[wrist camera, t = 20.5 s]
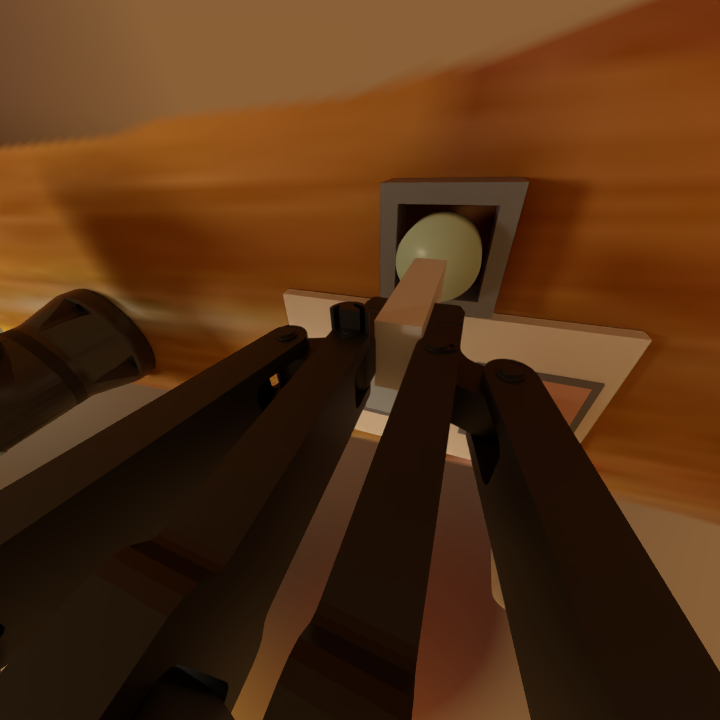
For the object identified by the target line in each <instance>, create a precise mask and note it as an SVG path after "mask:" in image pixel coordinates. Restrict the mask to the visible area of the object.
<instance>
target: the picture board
mask: <svg viewBox="0 0 720 720" xmlns="http://www.w3.org/2000/svg"><path fill="white" fill-rule="evenodd" d="M283 297H284V302H285V307H286V312H287V316H288V321H289V325H296V326H301V327H303V328H305V329H306V331H307V334H308V338H324V337H326V336H327V335H328V334H329V333H330V332H331V330H332V326H331V317H330V307H331V306H333V305H334V304H337V303H340V302H347V301H354V302H360V303H363V304H365V303H366V302H367V301H368V300H370V299H371V298H362V297H354V296H346V295H337V294H329V293H321V292H312V291H304V290H296V289H288V290H287V291H286V292H284V293H283ZM651 341H652V340H651V338H650V337H649V336H648V335H647V334H646V333H645V331H637V330H629V329H621V328H612V327H604V326H596V325H587V324H579V323H571V322H562V321H554V320H546V319H537V318H529V317H521V316H512V315H504V314H496V313H493V315H492V319H486V318H478V317H470V316H465V317H464V324H463V331H462V338H461V345H460V348H461V351H462V353H463V354H464V355H465V356H466V357H467V358H468V359H470V360H471V361H473V362H476V363H478V364H481V365H483V366H485V365H486V364H487V363H488V362H489V361H491V360H494V359H503V358H504V359H511V360H516V361H519V362H521V363H524V364H526V365H527V366H529V367H531V368H532V369H533V370H534V371H535V372H536V373H537V374H538V376H539V377H540V379H541V381H542V382H543V384H544V385H545V387H546V389H547V390H548V392H549V394H550V395H551V397H552V399H553V400H554V402H555V403H556V405H557V407H558V408H559V410H560V412H561V413H562V415H563V417H564V418H565V420H566V421H567V423H568V425H569V426H570V428H571V430H572V431H573V433H574V435H575V436H576V438H577V439H578V441H579V443H580V444H581V442H582V441H583V439H584V438H585V436H586V435H587V434H588V432H589V431H590V429H591V428H592V426H593V425H594V424H595V422H596V421H597V419H598V418H599V416H600V415H601V413H602V412H603V411H604V409H605V408H606V406H607V405H608V403H609V402H610V400H611V399H612V398H613V396H614V395H615V393H616V392H617V390H618V389H619V388H620V386H621V385H622V383H623V382H624V380H625V379H626V377H627V376H628V375H629V373H630V372H631V370H632V369H633V367H634V366H635V364H636V363H637V362H638V360H639V359H640V357H641V356H642V354H643V353H644V351H645V350H646V349H647V347H648V346H649V344H650V343H651ZM397 393H398V390H393V389H389V388H384V387H379V386H375V375H374V377H373V379H372V381H371V392H370V396H369V398H368V400H367V402H366V404H365V407H364V409H363V411H362V413H361V415H360V417H359V419H358V421H357V424H356V426H355V428H354V429H356V430H360V431H364V432H368V433H371V434H375V435H379V436H382V434H383V431H384V428H385V425H386V423H387V420H388V417H389V415H390V412H391V409H392V407H393V404H394V401H395V399H396V396H397ZM446 454H450V455H454V456H458V457H461V458H465V459H469V460H471V457H470V452H469V448H468V444H467V439H466V431H465V430H463V429H461V428H459V427H457V426H455V425H453V424H451V423H450V430H449V437H448V444H447V451H446Z"/></svg>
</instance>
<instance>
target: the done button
mask: <svg viewBox="0 0 720 720" xmlns="http://www.w3.org/2000/svg"><path fill="white" fill-rule="evenodd" d="M415 258H425V259H439V260H447V263H446V270H445V277H444V283H443V290H442V297H441V302H444V301H448V300H451V299H454V298H456V297H458V296H460V295H461V294H463V293H464V292H465V291H467V290H468V289H469V288H470V287H471V285H472V284H473V283H474V281H475V280H476V278H477V276H478V274H479V271H480V267H481V261H482V240H481V237H480V234H479V232H478V230H477V228H476V226H475V225H474V224H473V223H472V222H471V221H470V220H469V219H468V218H466V217H465V216H463V215H461V214H459V213H456V212H451V211H440V212H435V213H432V214H429V215H427V216H425V217H423V218H422V219H420V220H419V221H418V222H417V223H416V224H415V225H414V226H413V227H412V228H411V229H410V230H409V231H408V232H407V234H406V235H405V236H404V237H403V239H402V241H401V243H400V244H399V247H398V250H397V254H396V270H397V274H398V277H399V279H400V281H401V279H402V277H403V276H404V274H405V273H406V271H407V270H408V268H409V267H410V265H411V264H412V262H413V261H414V259H415Z"/></svg>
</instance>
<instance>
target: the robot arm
mask: <svg viewBox="0 0 720 720" xmlns="http://www.w3.org/2000/svg"><path fill="white" fill-rule="evenodd" d="M446 263H447V260H439V259H425V258H415V259H414V261H413V262H412V264H411V265H410V267H409V268H408V270H407V271H406V273H405V274H404V276H403V277H402V279H401V281H400V282H399V284H398V285H397V287H396V288H395V290H394V291H393V293H392V294H391V296H390V297H389V298H383V297H374V298H372V299H370V300H368V301H367V302H366V303H365V304H363V303H360V302H354V301H347V302H340V303H337V304H334V305H333V306H331V307H330V317H331V326H332V330H331V332H330V333H329V334H328V335H327V336H326V337H324V338H308V334H307V331H306V329H305V328H303V327H301V326H296V325H286V326H283V327H279V328H277V329H275V330H273V331H271V332H269V333H268V334H266V335H264V336H263V337H261V338H259V339H257V340H256V341H254V342H252V343H251V344H249V345H247V346H245V347H244V348H242V349H240V350H239V351H237V352H235V353H234V354H232V355H230V356H228V357H227V358H225V359H223V360H222V361H220V362H218V363H216V364H215V365H213V366H211V367H210V368H208V369H206V370H205V371H203V372H201V373H199V374H198V375H196V376H194V377H193V378H191V379H189V380H187V381H186V382H184V383H182V384H181V385H179V386H177V387H176V388H174V389H172V390H170V391H169V392H167V393H166V394H164V395H162V396H160V397H158V398H157V399H155V400H154V401H152V402H150V403H148V404H147V405H145V406H143V407H141V408H140V409H138V410H136V411H135V412H133V413H131V414H130V415H128V416H126V417H124V418H123V419H121V420H119V421H117V422H116V423H114V424H112V425H111V426H109V427H107V428H106V429H104V430H102V431H100V432H99V433H97V434H95V435H94V436H92V437H90V438H89V439H87V440H85V441H83V442H82V443H80V444H78V445H77V446H75V447H73V448H72V449H70V450H68V451H66V452H65V453H63V454H61V455H59V456H58V457H56V458H54V459H53V460H51V461H49V462H48V463H46V464H44V465H42V466H41V467H39V468H37V469H36V470H34V471H32V472H31V473H29V474H27V475H25V476H24V477H22V478H20V479H19V480H17V481H15V482H13V483H12V484H10V485H8V486H7V487H5V488H3V489H2V490H0V669H2V668H3V667H5V666H6V665H7V666H6V667H5V668H4V669H3V670H2V671H1V670H0V720H235V719H234V718H233V716H232V715H231V712H232V709H233V707H234V705H235V703H236V701H237V698H238V696H239V694H240V692H241V689H242V687H243V685H244V683H245V681H246V679H247V676H248V674H249V672H250V670H251V668H252V665H253V663H254V660H255V658H256V655H257V653H258V650H259V647H260V643H261V640H262V635H263V628H264V622H265V619H266V616H267V613H268V611H269V608H270V606H271V604H272V602H273V599H274V598H275V595H276V593H277V591H278V589H279V587H280V585H281V583H282V581H283V578H284V576H285V574H286V572H287V570H288V568H289V565H290V563H291V561H292V559H293V557H294V555H295V553H296V551H297V549H298V547H299V544H300V542H301V540H302V538H303V536H304V534H305V532H306V530H307V528H308V525H309V523H310V521H311V519H312V517H313V515H314V513H315V510H316V508H317V506H318V504H319V502H320V500H321V498H322V495H323V494H324V491H325V489H326V487H327V485H328V483H329V481H330V479H331V477H332V474H333V472H334V470H335V468H336V466H337V464H338V462H339V460H340V458H341V455H342V453H343V451H344V449H345V447H346V445H347V443H348V441H349V438H350V436H351V434H352V432H353V430H354V428H355V426H356V424H357V421H358V419H359V417H360V415H361V413H362V411H363V409H364V407H365V404H366V402H367V400H368V398H369V396H370V392H371V381H372V379H373V377H374V375H375V386H379V387H384V388H389V389H393V390H398V393H397V396H396V399H395V401H394V404H393V407H392V409H391V412H390V415H389V417H388V420H387V423H386V425H385V428H384V431H383V434H382V436H381V439H380V442H379V444H378V447H377V450H376V453H375V455H374V458H373V460H372V463H371V466H370V469H369V471H368V474H367V476H366V480H365V482H364V485H363V487H362V490H361V493H360V495H359V498H358V501H357V503H356V506H355V509H354V511H353V514H352V517H351V520H350V522H349V525H348V527H347V530H346V533H345V536H344V538H343V541H342V544H341V547H340V549H339V552H338V554H337V557H336V560H335V562H334V565H333V568H332V571H331V573H330V576H329V578H328V581H327V584H326V586H325V589H324V592H323V595H322V597H321V600H320V602H319V605H318V607H317V610H316V612H315V614H314V616H313V618H312V620H311V622H310V623H309V624H308V626H307V627H306V628H305V630H304V631H303V632H302V634H301V635H300V636H299V638H298V640H297V642H296V643H295V645H294V648H293V649H292V651H291V653H290V655H289V657H288V659H287V662H286V664H285V666H284V668H283V671H282V673H281V676H280V678H279V680H278V682H277V685H276V688H275V690H274V692H273V695H272V698H271V700H270V703H269V705H268V708H267V710H266V713H265V716H264V718H263V720H411V719H412V709H413V700H414V685H415V684H414V683H415V671H416V662H417V655H418V647H419V640H420V633H421V626H422V619H423V612H424V604H425V598H426V591H427V584H428V577H429V570H430V563H431V556H432V549H433V541H434V535H435V528H436V521H437V514H438V506H439V500H440V493H441V486H442V479H443V472H444V464H445V458H446V451H447V444H448V437H449V430H450V423H451V424H453V425H455V426H457V427H459V428H461V429H463V430H465V431H466V439H467V444H468V448H469V452H470V457H471V461H472V465H473V470H474V474H475V478H476V483H477V487H478V492H479V496H480V500H481V505H482V509H483V513H484V518H485V522H486V526H487V531H488V535H489V539H490V543H491V548H492V552H493V557H494V561H495V565H496V570H497V574H498V578H499V583H500V587H501V591H502V596H503V600H504V604H505V609H506V613H507V617H508V621H509V626H510V631H511V635H512V639H513V644H514V648H515V652H516V657H517V661H518V665H519V670H520V674H521V678H522V683H523V686H524V691H525V695H526V700H527V704H528V709H529V713H530V717H531V720H720V672H719V670H718V668H717V667H716V665H715V664H714V662H713V660H712V659H711V657H710V655H709V654H708V652H707V650H706V649H705V647H704V645H703V644H702V642H701V640H700V639H699V637H698V636H697V634H696V632H695V631H694V629H693V628H692V626H691V624H690V623H689V621H688V619H687V618H686V616H685V614H684V613H683V611H682V610H681V608H680V606H679V605H678V603H677V601H676V600H675V598H674V596H673V595H672V593H671V591H670V590H669V588H668V587H667V585H666V583H665V582H664V580H663V578H662V577H661V575H660V573H659V572H658V570H657V569H656V567H655V565H654V564H653V562H652V561H651V559H650V557H649V555H648V554H647V552H646V551H645V549H644V547H643V546H642V544H641V542H640V541H639V539H638V538H637V536H636V534H635V533H634V531H633V530H632V528H631V526H630V524H629V523H628V521H627V520H626V518H625V516H624V515H623V513H622V511H621V510H620V508H619V507H618V505H617V503H616V502H615V500H614V498H613V497H612V495H611V493H610V492H609V490H608V488H607V487H606V485H605V484H604V482H603V480H602V479H601V477H600V475H599V474H598V472H597V470H596V469H595V467H594V466H593V464H592V462H591V461H590V459H589V457H588V456H587V454H586V453H585V451H584V449H583V448H582V446H581V444H580V443H579V441H578V439H577V438H576V436H575V435H574V433H573V431H572V430H571V428H570V426H569V425H568V423H567V421H566V420H565V418H564V417H563V415H562V413H561V412H560V410H559V408H558V407H557V405H556V403H555V402H554V400H553V399H552V397H551V395H550V394H549V392H548V390H547V389H546V387H545V385H544V384H543V382H542V381H541V379H540V377H539V376H538V374H537V373H536V372H535V371H534V370H533V369H532V368H531V367H529V366H527V365H526V364H524V363H521V362H519V361H516V360H511V359H504V358H503V359H494V360H491V361H489V362H488V363H487V364H486V365H485V366H483V365H481V364H478V363H476V362H473V361H471V360H470V359H468V358H467V357H466V356H465V355H464V354H463V353H462V351H461V348H460V345H461V338H462V331H463V324H464V317H465V311H464V310H463V309H462V307H461V306H458V305H450V304H441V297H442V290H443V283H444V277H445V270H446ZM154 364H155V363H154V357H153V354H152V351H151V349H150V347H149V345H148V343H147V342H146V340H145V338H144V337H143V335H142V334H141V333H140V331H139V330H138V329H137V328H136V326H135V325H134V324H133V323H132V322H131V321H130V320H129V319H128V318H127V317H126V316H125V315H124V314H123V313H122V312H121V311H120V310H119V309H117V308H116V307H115V306H114V305H112V304H111V303H110V302H108V301H107V300H105V299H104V298H102V297H100V296H99V295H97V294H95V293H93V292H90V291H87V290H83V289H75V290H72V291H69V292H67V293H64V294H61V295H59V296H57V297H55V298H54V299H52V300H51V301H50V302H49V303H47V304H46V305H45V306H44V307H42V308H41V309H40V310H39V311H37V312H36V313H35V314H33V315H32V316H31V317H30V318H28V319H27V320H26V321H25V322H23V323H22V324H21V325H19V326H17V327H15V328H13V329H10V330H8V331H5V332H3V333H0V455H3V454H5V453H6V452H7V450H9V449H10V448H12V447H13V446H15V445H16V444H18V443H19V442H21V441H23V440H24V439H26V438H27V437H29V436H30V435H32V434H33V433H35V432H36V431H38V430H40V429H41V428H43V427H44V426H46V425H47V424H49V423H51V422H52V421H54V420H55V419H57V418H58V417H60V416H61V415H63V414H64V413H66V412H68V411H69V410H71V409H72V408H74V407H75V406H77V405H78V404H80V403H81V402H83V401H85V400H86V399H88V398H90V397H91V396H93V395H95V394H98V393H101V392H105V391H108V390H111V389H114V388H117V387H120V386H123V385H126V384H129V383H132V382H135V381H138V380H140V379H141V378H143V377H144V376H146V375H147V374H149V373H150V372H152V371H153V369H154ZM275 374H277V378H278V381H279V383H278V384H276V385H274V386H272V385H271V382H270V379H269V378H271V377H272V376H273V375H275Z"/></svg>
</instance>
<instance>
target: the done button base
mask: <svg viewBox="0 0 720 720" xmlns="http://www.w3.org/2000/svg"><path fill="white" fill-rule="evenodd" d="M528 185H529V181H528V180H527V179H526V178H524V177H471V178H393V179H390V180H387V181H384V182H381V201H380V297H383V298H389V297H390V296H391V294H392V293H393V291H394V290H395V288H396V287H397V285H398V284H399V282H400V279H399V277H398V274H397V270H396V254H397V250H398V247H399V244H400V243H401V241H402V239H403V237H404V236H405V235H406V224H407V208H408V204H441V205H497V209H496V213H495V218H494V222H493V226H492V231H491V235H490V240H489V244H488V248H487V253H486V257H485V262H484V266H483V270H482V275H481V279H480V284H479V286H475V285H471V287H470V288H469V289H468V290H467V291H465V292H464V293H463V294H461V295H460V296H458V297H456V298H454V299H451V300H448V301H444V302H441V304H450V305H458V306H461V307H462V309H463V310H464V311H465V316H470V317H478V318H486V319H492V315H493V312H494V308H495V305H496V301H497V297H498V294H499V290H500V286H501V283H502V279H503V276H504V272H505V268H506V265H507V261H508V257H509V254H510V250H511V247H512V243H513V239H514V236H515V232H516V228H517V225H518V221H519V218H520V214H521V210H522V207H523V203H524V199H525V196H526V192H527V188H528Z"/></svg>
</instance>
